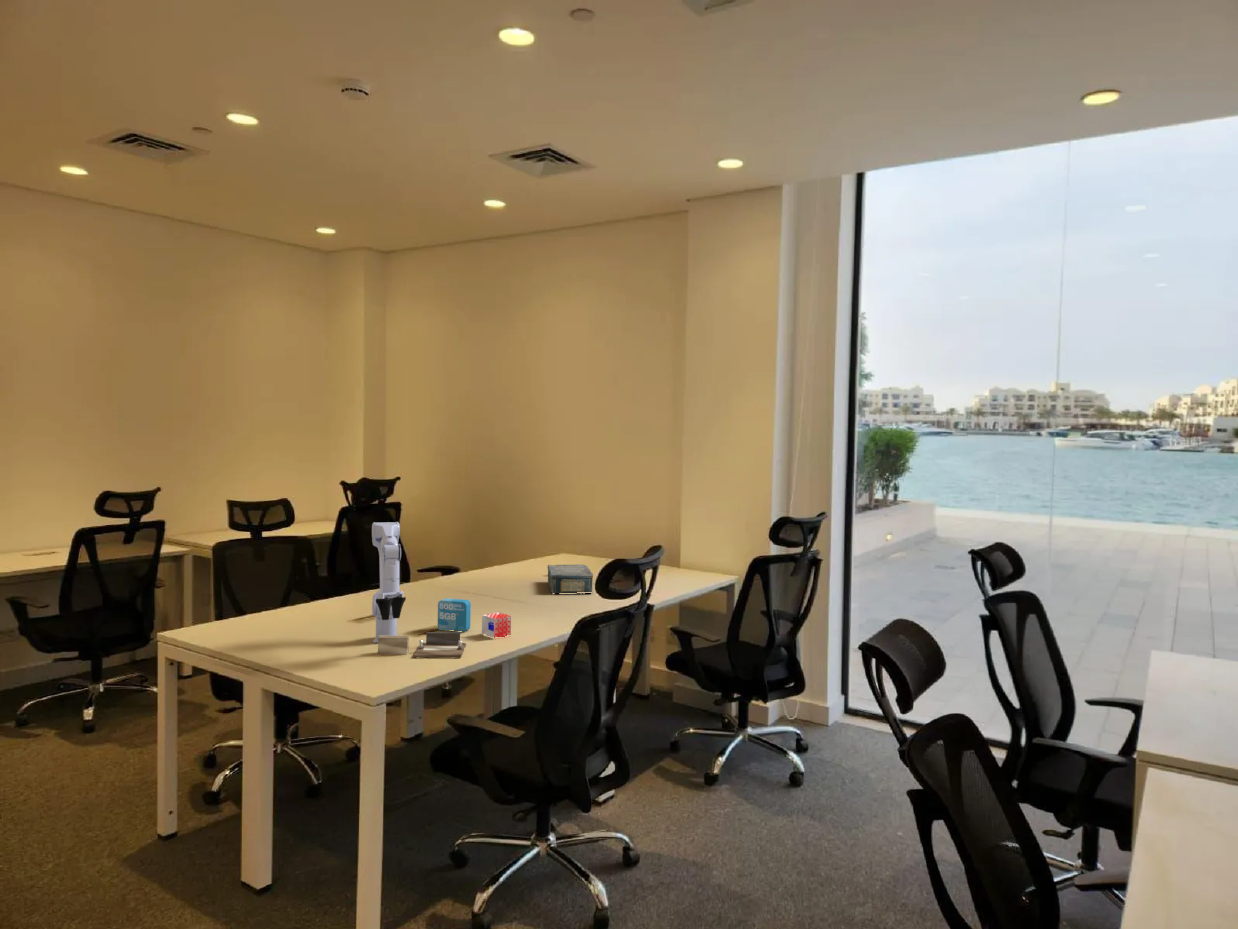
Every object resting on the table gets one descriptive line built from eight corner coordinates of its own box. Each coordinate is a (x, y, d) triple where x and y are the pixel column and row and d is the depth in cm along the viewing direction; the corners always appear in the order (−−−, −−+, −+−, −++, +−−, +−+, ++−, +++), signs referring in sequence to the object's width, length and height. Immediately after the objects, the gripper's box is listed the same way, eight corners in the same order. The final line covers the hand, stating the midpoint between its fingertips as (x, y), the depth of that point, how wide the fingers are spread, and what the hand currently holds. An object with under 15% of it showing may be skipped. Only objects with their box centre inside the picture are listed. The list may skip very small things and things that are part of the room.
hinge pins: (419, 648, 288) (419, 640, 288) (461, 648, 289) (462, 640, 289) (419, 649, 287) (419, 640, 287) (461, 649, 288) (461, 641, 288)
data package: (437, 630, 318) (437, 600, 317) (442, 628, 322) (442, 597, 322) (465, 633, 315) (466, 602, 315) (470, 630, 320) (471, 600, 319)
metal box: (549, 595, 392) (550, 575, 391) (546, 583, 424) (546, 564, 423) (593, 595, 395) (594, 575, 394) (586, 583, 427) (587, 564, 427)
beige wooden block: (379, 652, 286) (379, 635, 285) (408, 652, 287) (408, 635, 286) (377, 654, 283) (378, 637, 282) (407, 654, 284) (407, 637, 283)
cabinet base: (421, 645, 295) (421, 632, 295) (465, 645, 297) (466, 632, 296) (413, 658, 279) (413, 643, 279) (460, 658, 281) (461, 643, 280)
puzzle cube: (510, 636, 312) (511, 615, 312) (493, 639, 307) (494, 618, 306) (498, 632, 318) (498, 612, 318) (481, 635, 312) (482, 615, 312)
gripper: (391, 579, 274) (391, 620, 273) (411, 578, 288) (411, 617, 287) (372, 580, 276) (372, 620, 274) (393, 579, 290) (393, 617, 288)
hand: (390, 619), depth 281 cm, fingers open, 7 cm apart
